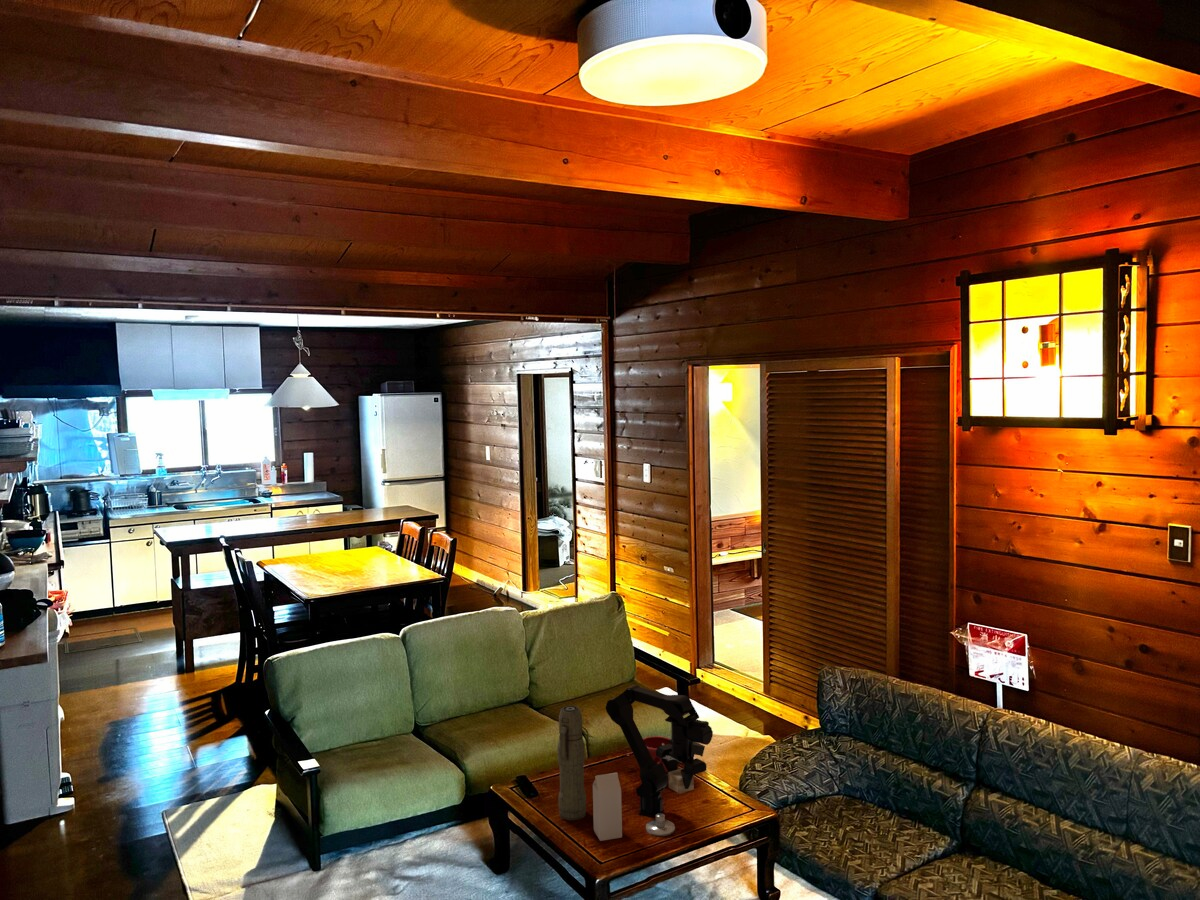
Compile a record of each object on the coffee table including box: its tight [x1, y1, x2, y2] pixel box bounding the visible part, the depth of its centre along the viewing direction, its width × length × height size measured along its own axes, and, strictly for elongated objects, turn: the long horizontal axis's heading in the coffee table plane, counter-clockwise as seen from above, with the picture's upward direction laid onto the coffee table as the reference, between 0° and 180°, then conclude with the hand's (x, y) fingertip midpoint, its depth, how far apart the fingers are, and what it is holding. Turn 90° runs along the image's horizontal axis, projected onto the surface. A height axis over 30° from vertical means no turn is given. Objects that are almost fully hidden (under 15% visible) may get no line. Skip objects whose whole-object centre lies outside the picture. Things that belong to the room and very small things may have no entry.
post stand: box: [645, 812, 676, 837], centre depth 277 cm, size 9×9×4 cm
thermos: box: [557, 705, 587, 821], centre depth 287 cm, size 9×12×35 cm
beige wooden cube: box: [668, 767, 695, 795], centre depth 280 cm, size 6×6×5 cm
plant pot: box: [642, 735, 671, 778], centre depth 317 cm, size 13×13×12 cm
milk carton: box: [592, 772, 623, 842], centre depth 274 cm, size 7×7×19 cm
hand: (681, 785), depth 280 cm, fingers closed on beige wooden cube, 6 cm apart
